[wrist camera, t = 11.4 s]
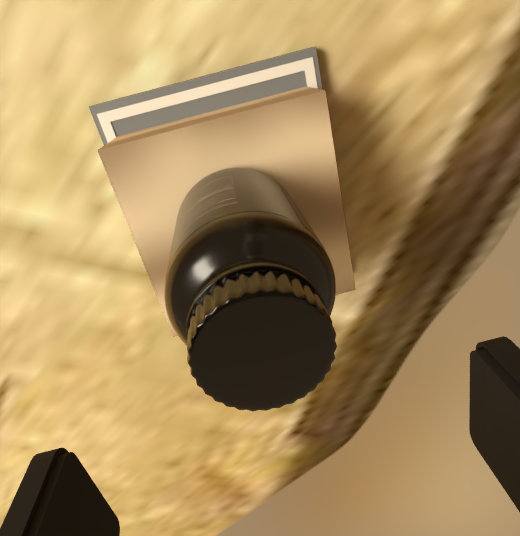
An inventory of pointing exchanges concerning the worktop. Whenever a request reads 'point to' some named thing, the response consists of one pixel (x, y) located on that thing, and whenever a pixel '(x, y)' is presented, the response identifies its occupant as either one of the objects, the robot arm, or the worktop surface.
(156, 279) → the oak plinth
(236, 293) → the supplement bottle
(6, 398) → the worktop surface
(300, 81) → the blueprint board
